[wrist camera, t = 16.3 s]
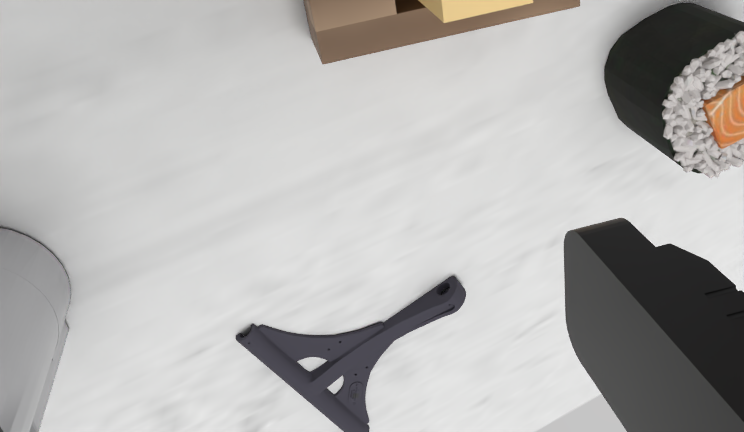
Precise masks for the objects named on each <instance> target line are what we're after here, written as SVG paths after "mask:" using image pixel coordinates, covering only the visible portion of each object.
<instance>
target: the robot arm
mask: <svg viewBox="0 0 744 432" xmlns="http://www.w3.org/2000/svg"><path fill="white" fill-rule="evenodd" d="M564 272H565V311H566V324H567V329H568V333H569V337H570V340H571V343H572V346H573V348H574V351H575V353H576V355H577V357H578V359H579V360H580V362H581V364H582V365H583V367H584V368H585V370H586V371H587V373H588V374H589V376H590V377H591V379H592V380H593V382H594V383H595V384H596V386H597V387H598V389H599V390H600V392H601V393H602V395H603V396H604V398H605V399H606V401H607V402H608V404H609V405H610V407H611V408H612V410H613V411H614V413H615V414H616V416H617V417H618V419H619V420H620V421H621V423H622V425H623V426H624V428H625V429H626V431H627V432H744V292H742V291H741V290H740V291H737V289H736V285H735V284H734V283H732V282H731V281H730V280H729V279H728V278H727V277H726V276H725V275H723V274H722V273H721V272H720V271H719V270H718V269H717V268H716V267H714V266H713V265H712V264H711V263H710V262H709V261H707V260H705V259H703V258H701V257H699V256H696V255H694V254H692V253H690V252H688V251H685V250H683V249H681V248H679V247H677V246H674V245H672V244H666V245H662V246H658V247H655V246H654V245H653V244H652V243H651V242H650V241H649V240H648V239H647V238H646V237H645V236H644V235H642V234H641V233H640V232H639V231H638V230H637V229H636V228H635V227H634V226H633V225H632V224H631V223H630V222H629V221H628V220H626V219H624V218H618V219H614V220H610V221H606V222H602V223H598V224H594V225H590V226H586V227H582V228H578V229H574V230H570V231H568V232H567V233H566V235H565V239H564ZM70 296H71V289H70V283H69V278H68V276H67V274H66V272H65V270H64V268H63V266H62V265H61V263H60V262H59V261H58V260H57V258H56V257H55V256H54V255H53V254H52V253H51V252H50V251H49V250H48V249H46V248H45V247H44V246H43V245H42V244H40V243H38V242H36V241H35V240H33V239H31V238H29V237H28V236H25V235H23V234H20V233H17V232H14V231H12V230H8V229H3V228H0V432H39V429H40V425H41V422H42V419H43V415H44V412H45V409H46V405H47V402H48V399H49V395H50V392H51V389H52V385H53V382H54V378H55V375H56V372H57V368H58V365H59V362H60V358H61V355H62V352H63V348H64V345H65V342H66V338H67V335H68V332H69V329H68V327H67V325H66V323H65V317H66V314H67V311H68V307H69V304H70Z"/></svg>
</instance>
